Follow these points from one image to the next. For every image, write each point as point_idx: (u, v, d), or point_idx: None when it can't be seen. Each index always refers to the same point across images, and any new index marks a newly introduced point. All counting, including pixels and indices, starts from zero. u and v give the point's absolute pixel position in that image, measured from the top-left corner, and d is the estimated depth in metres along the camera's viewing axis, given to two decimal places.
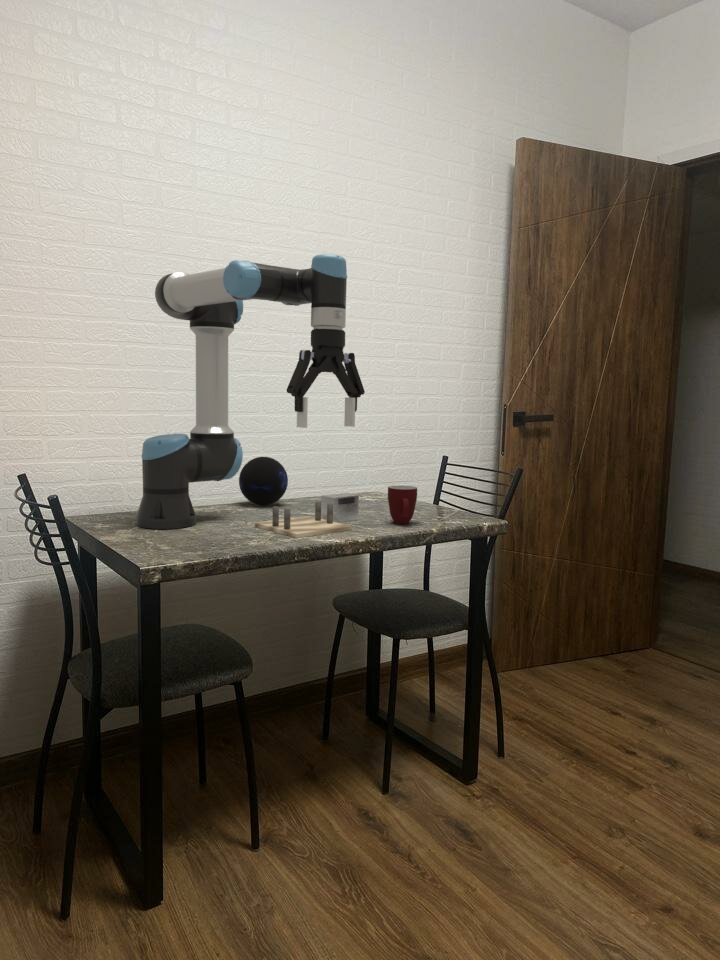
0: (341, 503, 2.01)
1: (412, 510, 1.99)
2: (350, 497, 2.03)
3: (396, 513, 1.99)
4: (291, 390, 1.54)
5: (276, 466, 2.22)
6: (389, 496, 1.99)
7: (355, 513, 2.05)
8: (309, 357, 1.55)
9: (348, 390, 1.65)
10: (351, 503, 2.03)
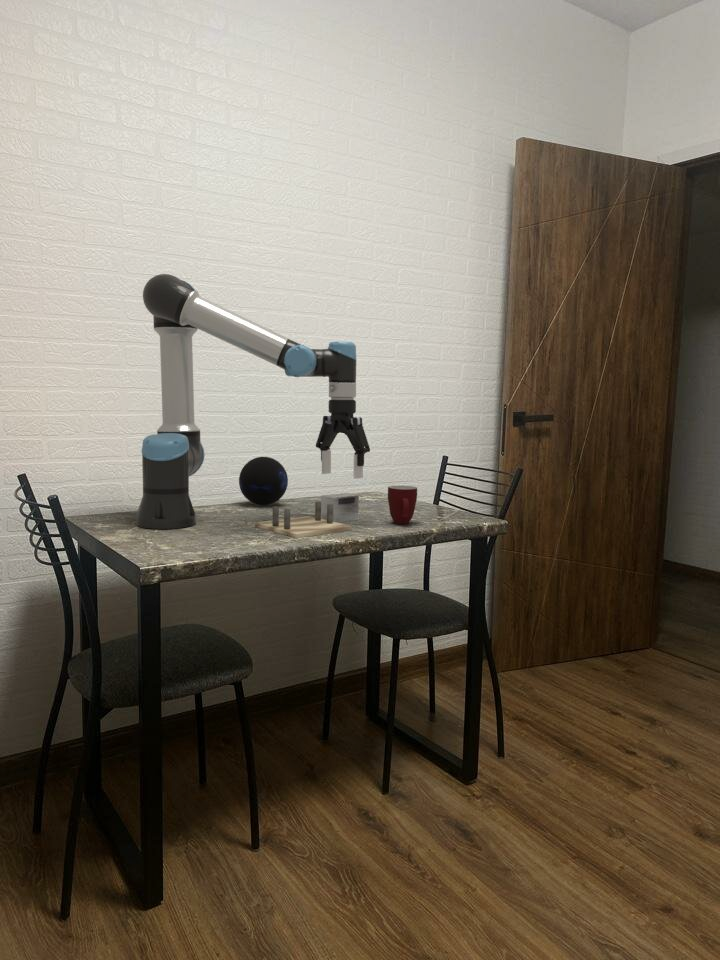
0: (341, 503, 2.01)
1: (412, 510, 1.99)
2: (350, 497, 2.03)
3: (396, 513, 1.99)
4: None
5: (276, 466, 2.22)
6: (389, 496, 1.99)
7: (355, 513, 2.05)
8: (324, 421, 2.05)
9: None
10: (351, 503, 2.03)
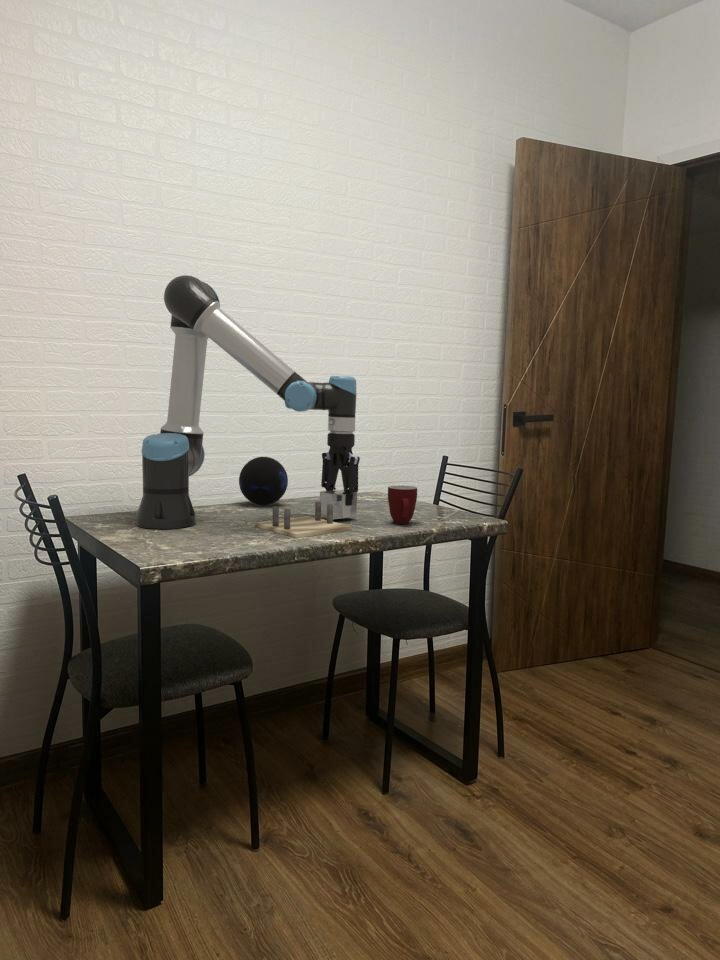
0: (339, 499, 2.01)
1: (412, 510, 1.99)
2: None
3: (396, 513, 1.99)
4: None
5: (276, 466, 2.22)
6: (389, 496, 1.99)
7: (354, 510, 2.05)
8: (324, 457, 2.06)
9: None
10: None
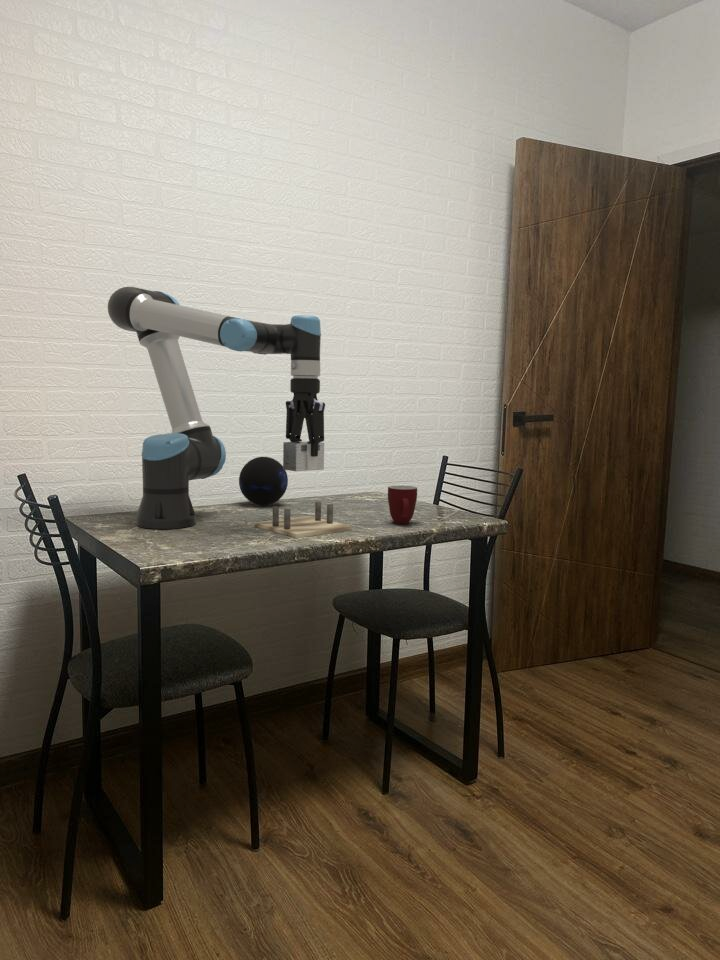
0: (304, 450, 1.85)
1: (412, 510, 1.99)
2: None
3: (396, 513, 1.99)
4: None
5: (276, 466, 2.22)
6: (389, 496, 1.99)
7: (321, 462, 1.89)
8: (288, 406, 1.91)
9: None
10: None
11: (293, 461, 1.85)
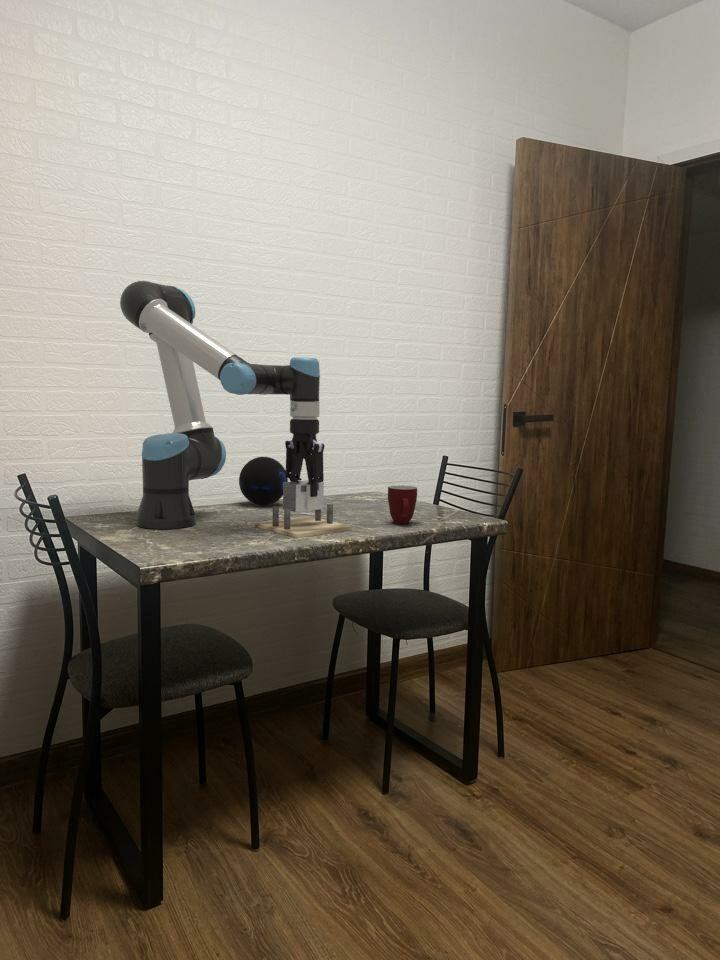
0: (304, 490, 1.87)
1: (412, 510, 1.99)
2: None
3: (396, 513, 1.99)
4: None
5: (276, 466, 2.22)
6: (389, 496, 1.99)
7: (320, 502, 1.91)
8: (287, 446, 1.92)
9: None
10: None
11: (293, 502, 1.86)
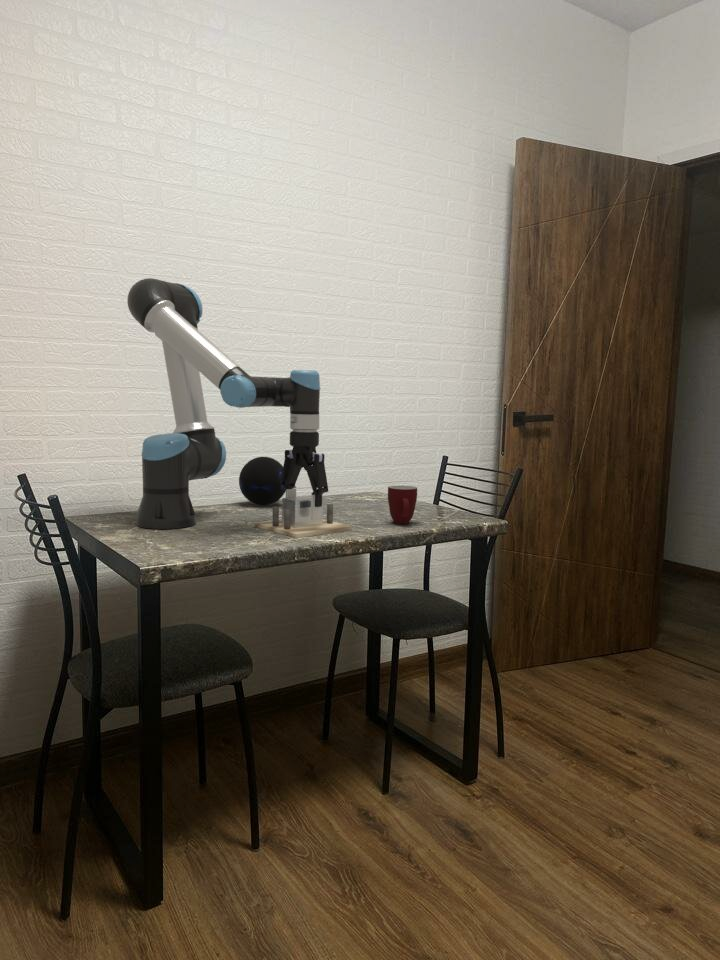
0: (303, 506, 1.87)
1: (412, 510, 1.99)
2: None
3: (396, 513, 1.99)
4: None
5: (276, 466, 2.22)
6: (389, 496, 1.99)
7: None
8: (286, 455, 1.93)
9: None
10: None
11: (292, 518, 1.86)
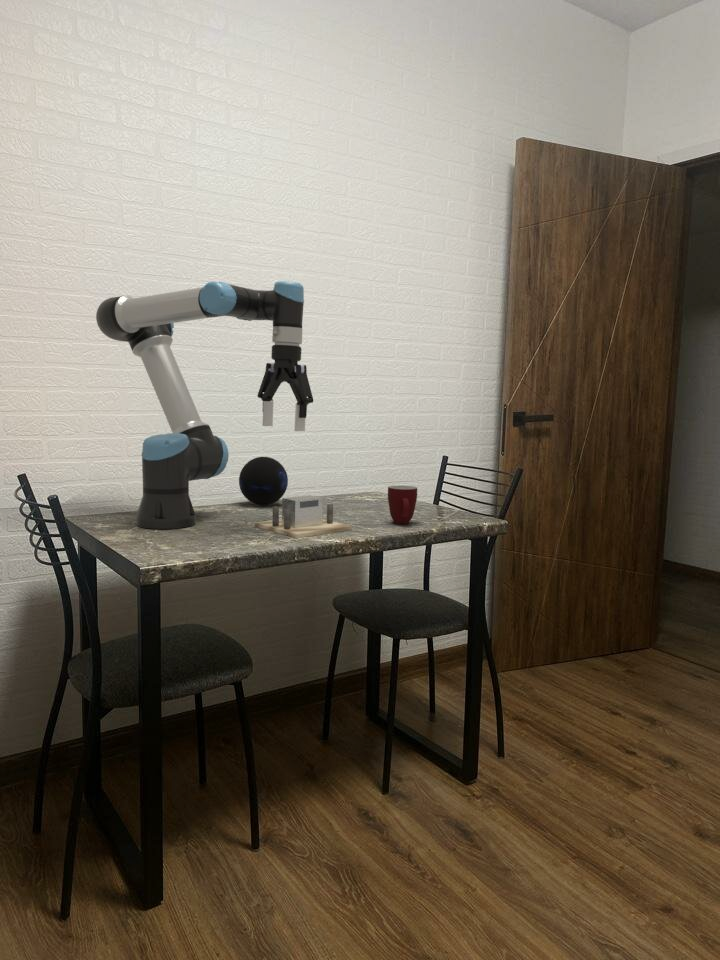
0: (303, 506, 1.87)
1: (412, 510, 1.99)
2: (313, 500, 1.89)
3: (396, 513, 1.99)
4: None
5: (276, 466, 2.22)
6: (389, 496, 1.99)
7: (319, 517, 1.91)
8: (267, 369, 1.90)
9: None
10: (314, 506, 1.90)
11: (292, 518, 1.86)
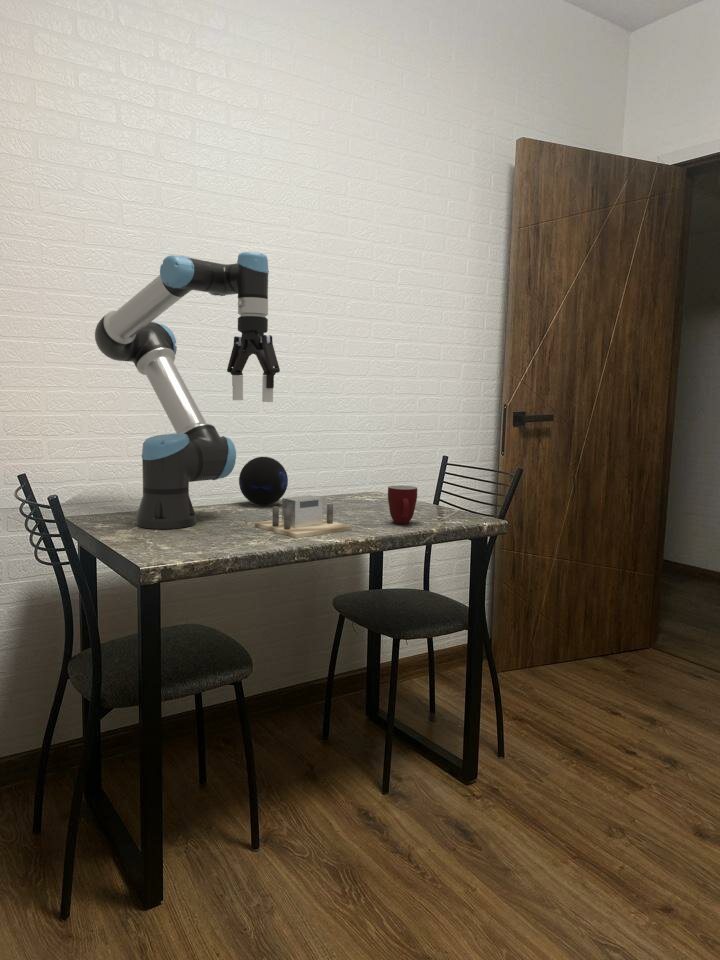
0: (303, 506, 1.87)
1: (412, 510, 1.99)
2: (313, 500, 1.89)
3: (396, 513, 1.99)
4: None
5: (276, 466, 2.22)
6: (389, 496, 1.99)
7: (319, 517, 1.91)
8: (235, 342, 1.89)
9: None
10: (314, 506, 1.90)
11: (292, 518, 1.86)
